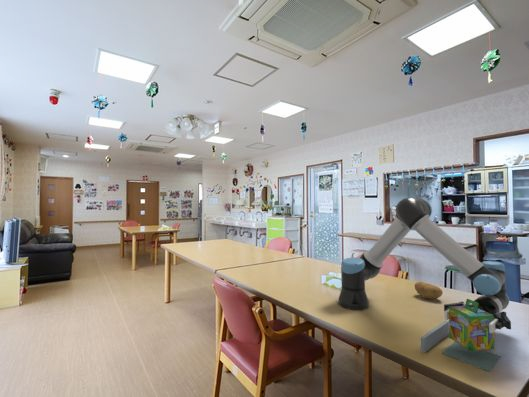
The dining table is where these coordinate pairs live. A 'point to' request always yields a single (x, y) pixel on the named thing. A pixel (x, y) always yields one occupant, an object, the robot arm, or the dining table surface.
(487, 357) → the mat
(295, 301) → the dining table surface
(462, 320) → the chalk box
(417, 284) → the potato
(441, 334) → the low wall
